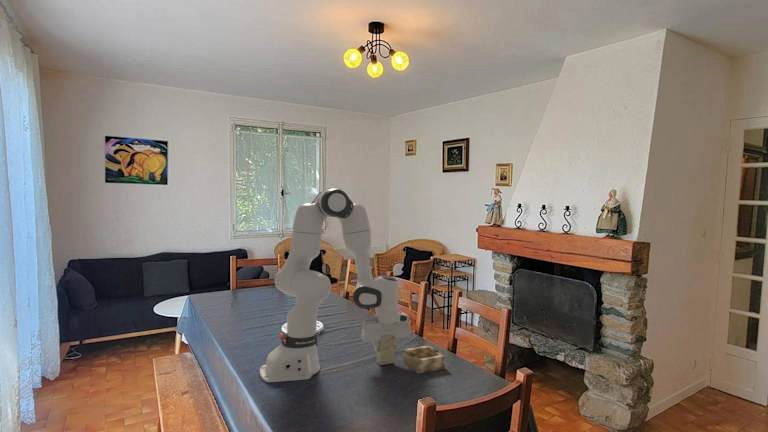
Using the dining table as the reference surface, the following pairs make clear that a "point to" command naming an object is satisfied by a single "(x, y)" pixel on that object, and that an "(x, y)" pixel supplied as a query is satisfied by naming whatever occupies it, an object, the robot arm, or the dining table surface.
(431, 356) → the socket block
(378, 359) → the skincare box
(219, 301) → the dining table surface
